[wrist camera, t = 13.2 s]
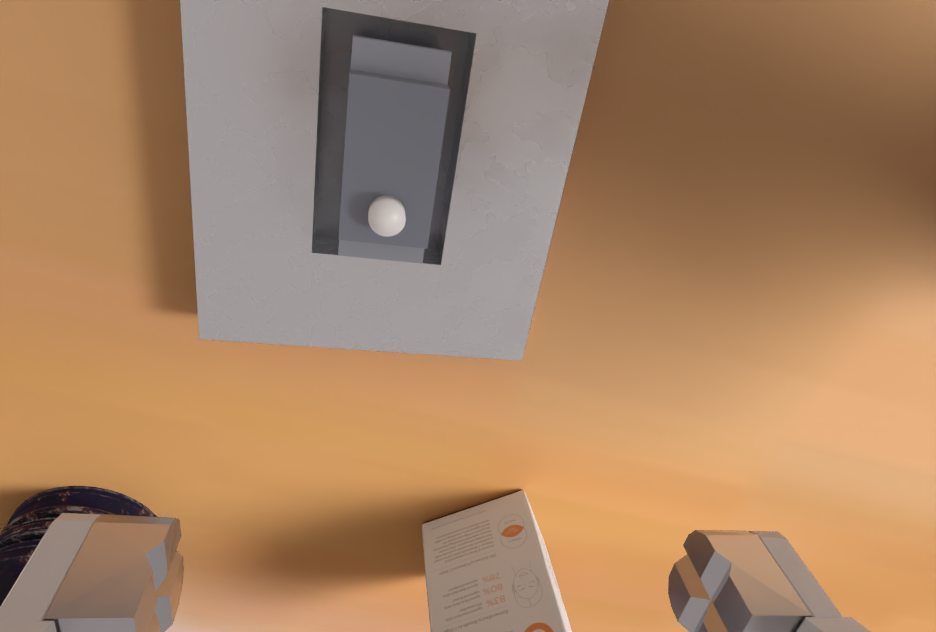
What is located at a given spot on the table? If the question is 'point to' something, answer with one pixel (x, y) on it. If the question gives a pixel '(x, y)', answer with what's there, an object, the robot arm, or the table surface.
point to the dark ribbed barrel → (18, 540)
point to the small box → (491, 571)
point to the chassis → (321, 170)
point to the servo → (392, 148)
